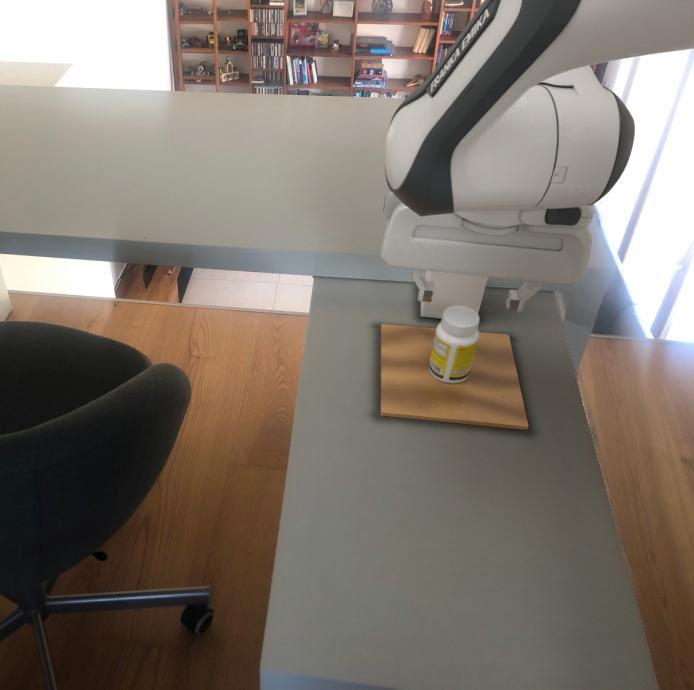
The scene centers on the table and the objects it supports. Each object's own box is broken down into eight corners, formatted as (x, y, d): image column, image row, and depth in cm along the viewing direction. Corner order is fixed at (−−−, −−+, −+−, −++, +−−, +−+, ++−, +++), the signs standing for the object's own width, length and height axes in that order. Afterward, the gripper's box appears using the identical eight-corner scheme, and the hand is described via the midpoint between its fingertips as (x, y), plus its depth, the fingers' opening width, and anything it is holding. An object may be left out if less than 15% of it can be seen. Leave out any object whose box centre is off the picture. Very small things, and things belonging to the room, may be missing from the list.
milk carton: (472, 291, 96) (504, 164, 84) (476, 323, 91) (510, 193, 78) (420, 286, 97) (443, 160, 85) (420, 318, 92) (446, 188, 79)
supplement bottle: (472, 364, 84) (487, 309, 78) (464, 389, 81) (479, 333, 75) (432, 353, 85) (444, 299, 80) (423, 377, 82) (435, 322, 77)
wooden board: (527, 430, 76) (528, 426, 76) (380, 415, 79) (381, 411, 78) (507, 337, 88) (509, 334, 88) (380, 327, 91) (381, 323, 90)
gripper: (385, 194, 67) (370, 309, 76) (613, 213, 63) (569, 332, 72) (388, 166, 71) (374, 277, 80) (601, 182, 68) (561, 297, 77)
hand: (468, 303), depth 76 cm, fingers open, 8 cm apart
